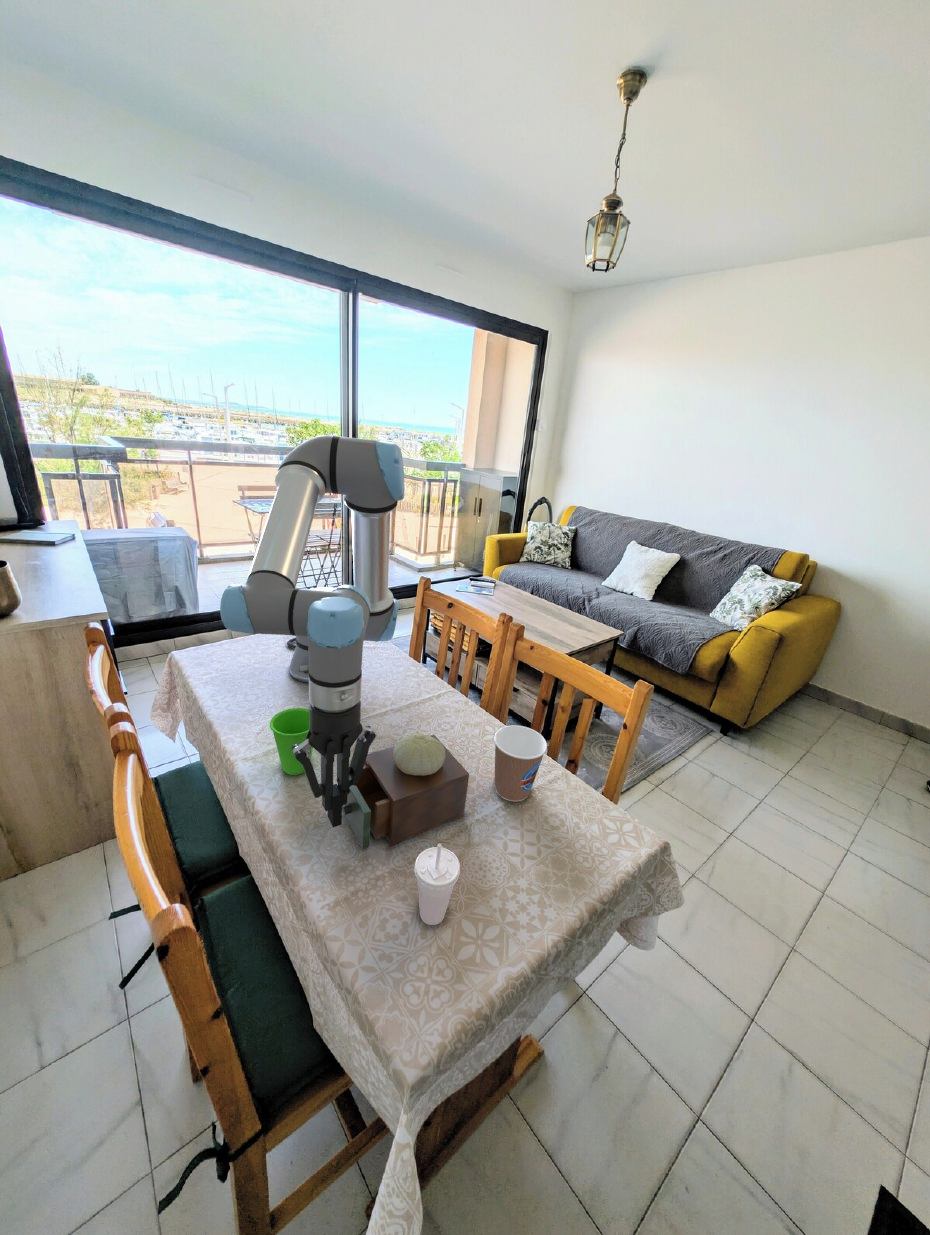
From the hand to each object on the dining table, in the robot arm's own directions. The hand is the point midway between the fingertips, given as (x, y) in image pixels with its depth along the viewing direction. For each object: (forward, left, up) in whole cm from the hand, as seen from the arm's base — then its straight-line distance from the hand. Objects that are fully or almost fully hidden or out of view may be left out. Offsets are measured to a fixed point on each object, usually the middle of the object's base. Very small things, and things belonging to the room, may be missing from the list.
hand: (334, 820), depth 79 cm
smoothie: (+20, +8, -4) cm, 22 cm away
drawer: (0, +9, -2) cm, 9 cm away
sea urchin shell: (0, +15, +6) cm, 17 cm away
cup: (-20, -1, -4) cm, 20 cm away
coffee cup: (+5, +35, -4) cm, 35 cm away
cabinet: (0, +15, -3) cm, 15 cm away
